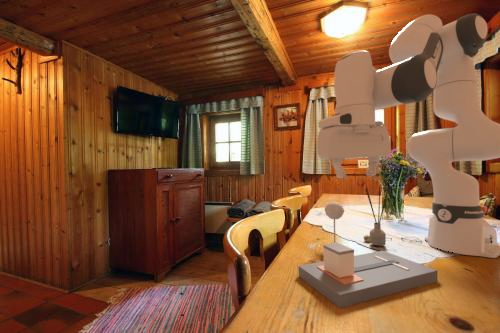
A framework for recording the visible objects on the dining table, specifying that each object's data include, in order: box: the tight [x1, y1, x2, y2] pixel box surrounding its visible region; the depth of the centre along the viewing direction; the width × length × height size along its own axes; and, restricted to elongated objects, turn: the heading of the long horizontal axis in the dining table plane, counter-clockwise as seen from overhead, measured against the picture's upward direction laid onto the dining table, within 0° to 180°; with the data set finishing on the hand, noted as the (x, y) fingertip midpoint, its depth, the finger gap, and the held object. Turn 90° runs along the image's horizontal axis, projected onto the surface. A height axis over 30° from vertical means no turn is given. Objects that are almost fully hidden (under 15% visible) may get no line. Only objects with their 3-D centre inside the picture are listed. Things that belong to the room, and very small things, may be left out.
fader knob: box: [323, 242, 355, 278], centre depth 52 cm, size 4×5×5 cm
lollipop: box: [324, 201, 345, 243], centre depth 78 cm, size 6×6×15 cm
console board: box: [297, 250, 439, 309], centre depth 55 cm, size 28×14×3 cm, turn 111°
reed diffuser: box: [363, 186, 389, 247], centre depth 79 cm, size 10×7×20 cm
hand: (356, 176), depth 57 cm, fingers open, 8 cm apart
